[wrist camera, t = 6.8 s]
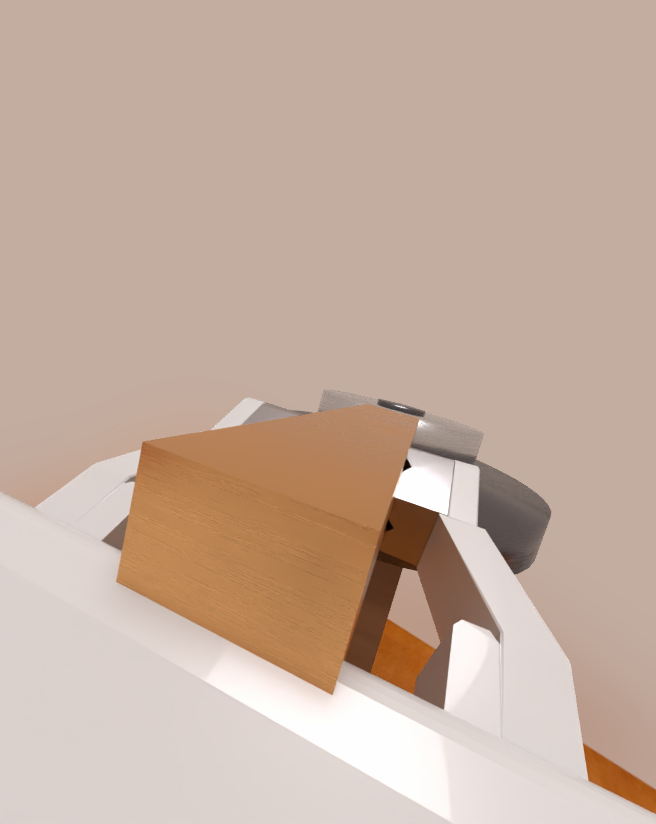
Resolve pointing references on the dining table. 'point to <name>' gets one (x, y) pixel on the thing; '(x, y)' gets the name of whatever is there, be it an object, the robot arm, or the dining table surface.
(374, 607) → the pedestal
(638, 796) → the dining table surface
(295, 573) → the cover
